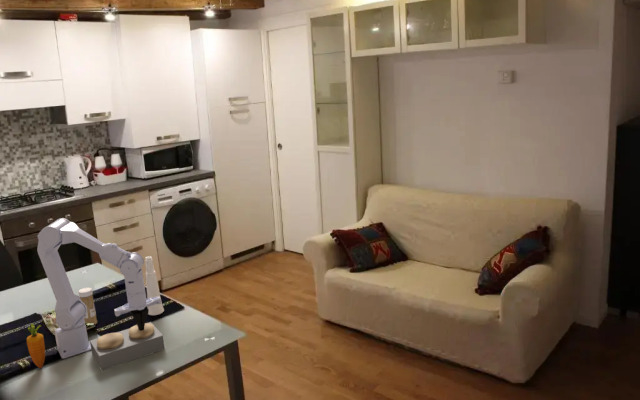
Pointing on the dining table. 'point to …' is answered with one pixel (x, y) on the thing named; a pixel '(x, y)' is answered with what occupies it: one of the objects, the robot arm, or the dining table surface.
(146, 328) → the right peg
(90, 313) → the sprinkles bottle
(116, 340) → the left peg
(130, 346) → the peg block
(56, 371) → the dining table surface
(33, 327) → the carrot
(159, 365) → the dining table surface
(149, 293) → the cosmetic bottle
